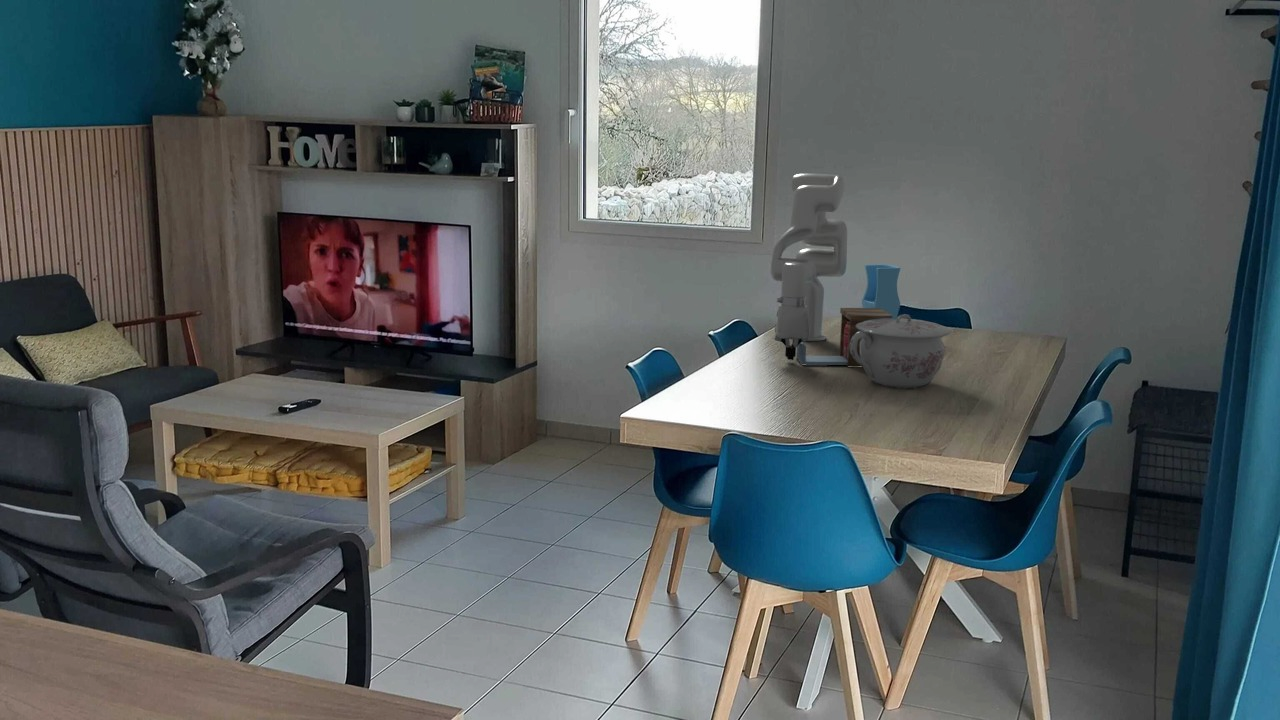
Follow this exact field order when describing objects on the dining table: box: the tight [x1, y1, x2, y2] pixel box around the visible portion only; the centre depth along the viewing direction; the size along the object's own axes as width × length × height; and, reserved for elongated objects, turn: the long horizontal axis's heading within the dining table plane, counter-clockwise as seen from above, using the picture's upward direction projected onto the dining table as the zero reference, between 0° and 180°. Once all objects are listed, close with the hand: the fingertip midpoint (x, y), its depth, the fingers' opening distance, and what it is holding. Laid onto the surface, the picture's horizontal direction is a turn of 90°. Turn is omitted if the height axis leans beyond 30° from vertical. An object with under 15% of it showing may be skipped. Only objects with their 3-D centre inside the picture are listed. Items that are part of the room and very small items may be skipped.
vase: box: [861, 263, 901, 318], centre depth 408 cm, size 10×10×25 cm
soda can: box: [843, 320, 850, 359], centre depth 362 cm, size 7×7×12 cm
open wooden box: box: [838, 307, 892, 367], centre depth 362 cm, size 14×13×17 cm
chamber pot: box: [849, 313, 952, 389], centre depth 335 cm, size 28×28×21 cm
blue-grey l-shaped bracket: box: [796, 342, 848, 366], centre depth 362 cm, size 9×23×6 cm, turn 93°
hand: (790, 358), depth 362 cm, fingers closed
